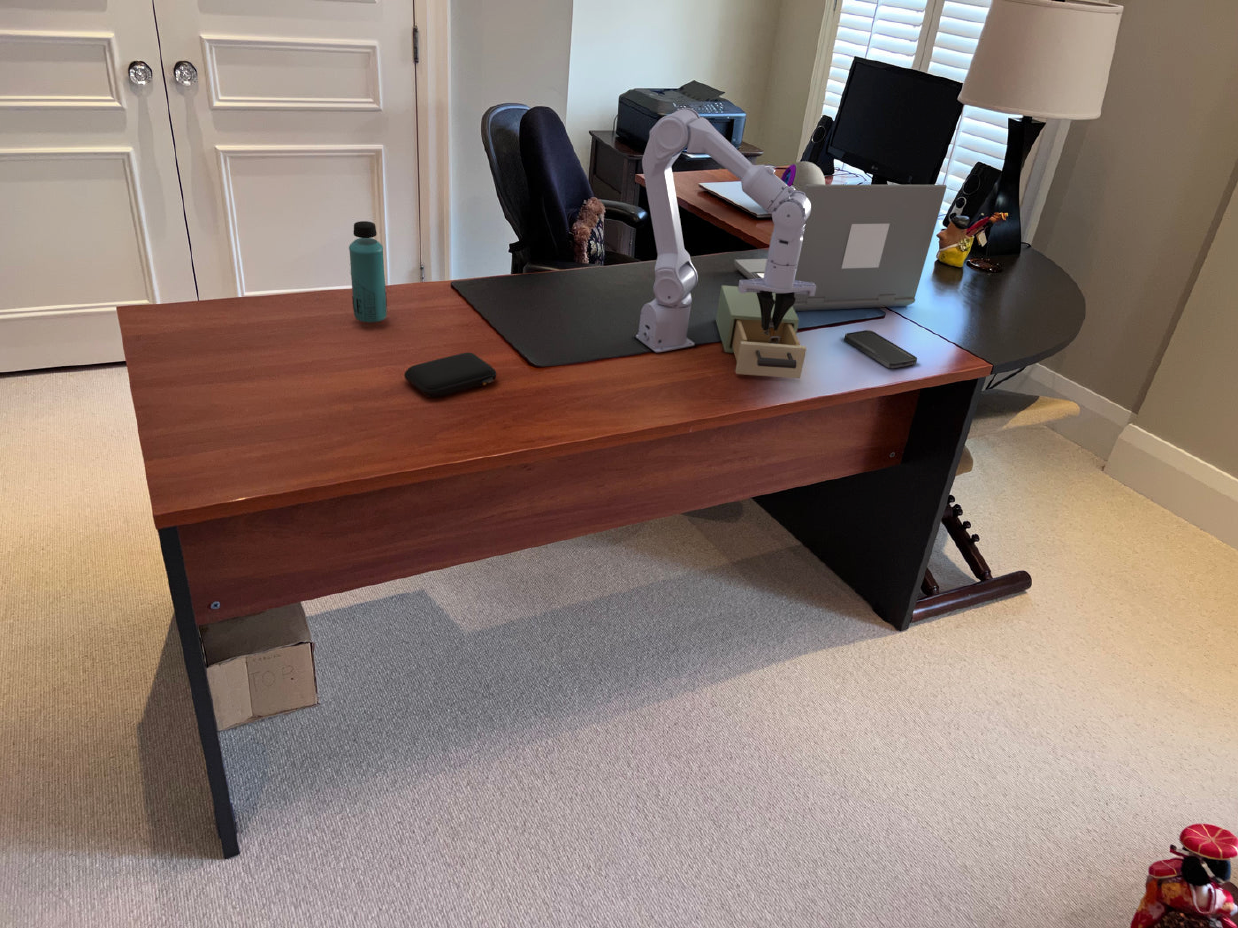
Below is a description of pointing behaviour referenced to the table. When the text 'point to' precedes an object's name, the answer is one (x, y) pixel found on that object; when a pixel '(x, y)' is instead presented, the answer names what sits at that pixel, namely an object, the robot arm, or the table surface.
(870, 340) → the phone
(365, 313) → the beverage bottle
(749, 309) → the cabinet
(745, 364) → the drawer
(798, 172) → the webcam
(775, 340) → the wooden post with brackets
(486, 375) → the carrying case
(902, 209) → the laptop
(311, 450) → the table surface
